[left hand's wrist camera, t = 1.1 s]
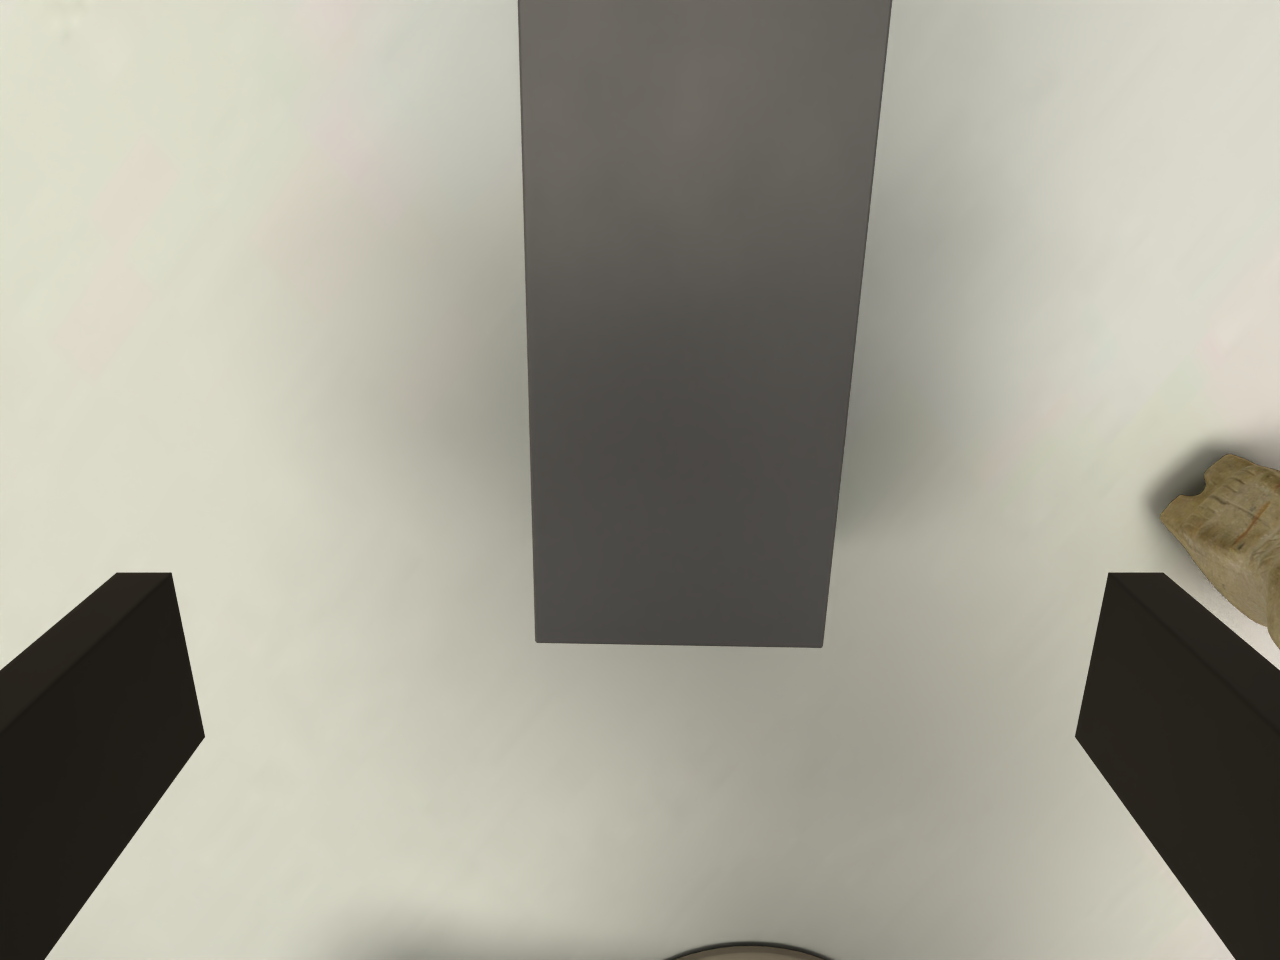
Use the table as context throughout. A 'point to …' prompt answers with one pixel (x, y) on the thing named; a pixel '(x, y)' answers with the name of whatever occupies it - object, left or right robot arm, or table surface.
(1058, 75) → the table surface
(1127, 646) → the left robot arm
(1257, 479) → the sculpture
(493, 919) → the table surface
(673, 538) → the beam
